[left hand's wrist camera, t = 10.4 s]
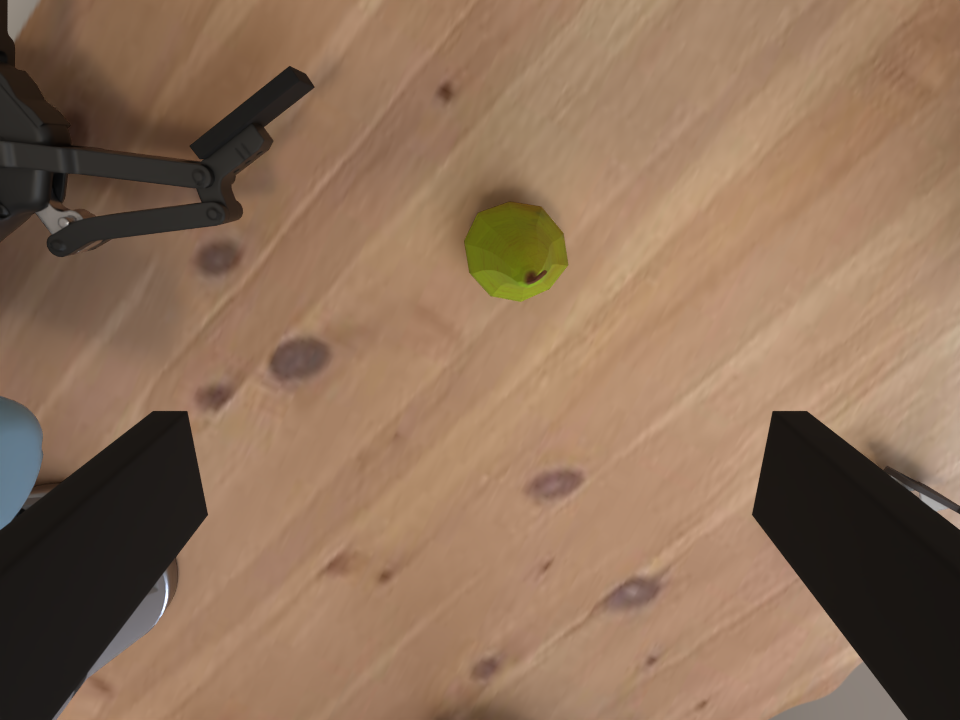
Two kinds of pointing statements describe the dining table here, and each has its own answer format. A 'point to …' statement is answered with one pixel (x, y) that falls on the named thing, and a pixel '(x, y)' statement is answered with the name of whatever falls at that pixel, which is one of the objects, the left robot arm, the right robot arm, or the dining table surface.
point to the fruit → (515, 251)
